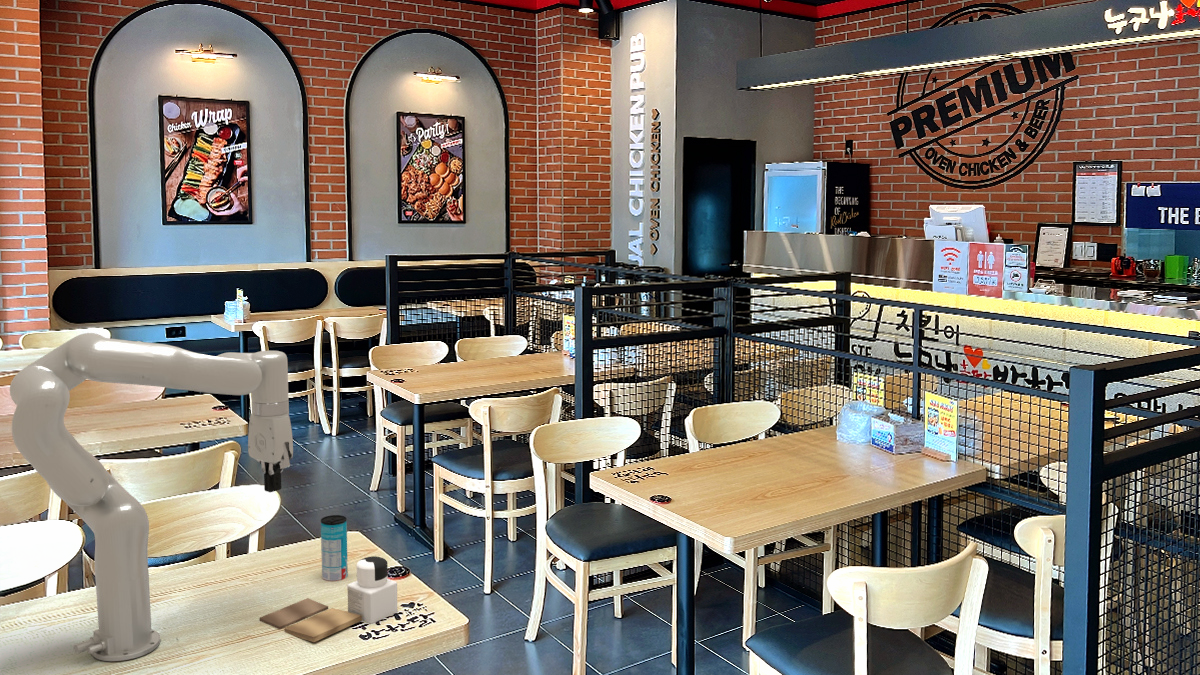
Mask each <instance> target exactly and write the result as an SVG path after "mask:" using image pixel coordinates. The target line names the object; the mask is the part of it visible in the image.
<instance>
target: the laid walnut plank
mask: <svg viewBox="0 0 1200 675" xmlns="http://www.w3.org/2000/svg"><path fill="white" fill-rule="evenodd" d="M328 609H329V606H328V605H326V604H323V603H320V602H319V601H315V600H314V599H310V598H309V597H307V598H304V599H302V600H299V601H297V602H295V603H293V604H289V605H288V606H285V607H282V608H280V609H278V610H275V611H273V612H270V613H268V614H265V615H262V616H261V617H258V618H259V621H260V622H262V623H264V624H267V625H269V626H271V627H273V628H276V629H278V630H282V629H284V628H286V627H289V626H291V625H293V624H296V623H298V622H300V621H303V620H305V619H307V618H310V617H312V616H314V615H317V614H319V613H321V612H324V611H326V610H328Z"/></svg>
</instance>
